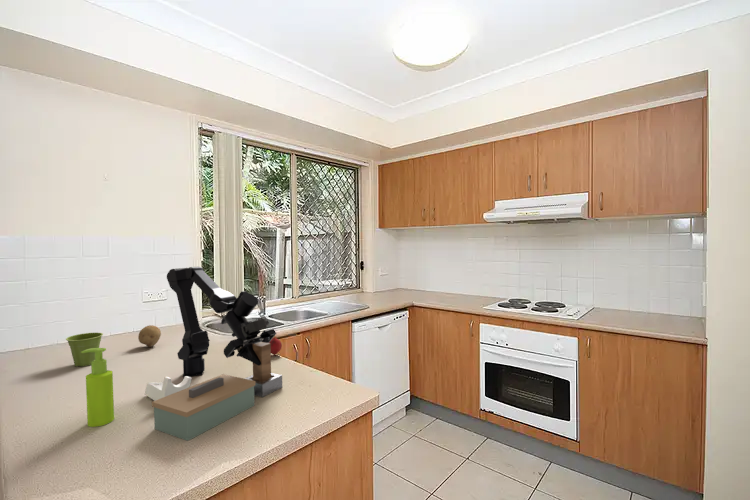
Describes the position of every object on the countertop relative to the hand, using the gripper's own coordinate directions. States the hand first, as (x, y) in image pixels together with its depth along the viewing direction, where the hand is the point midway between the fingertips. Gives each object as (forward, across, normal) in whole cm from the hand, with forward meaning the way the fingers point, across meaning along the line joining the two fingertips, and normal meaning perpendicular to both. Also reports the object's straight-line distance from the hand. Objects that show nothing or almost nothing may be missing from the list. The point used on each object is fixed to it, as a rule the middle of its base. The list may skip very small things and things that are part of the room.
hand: (265, 362), depth 124 cm
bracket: (-10, -17, +24) cm, 31 cm away
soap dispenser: (-12, -36, +25) cm, 45 cm away
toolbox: (+5, -18, +7) cm, 21 cm away
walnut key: (+4, 0, +6) cm, 7 cm away
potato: (-53, +15, +67) cm, 87 cm away
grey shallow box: (+5, 0, +7) cm, 9 cm away
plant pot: (-53, -11, +67) cm, 86 cm away
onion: (-10, +30, +23) cm, 40 cm away
